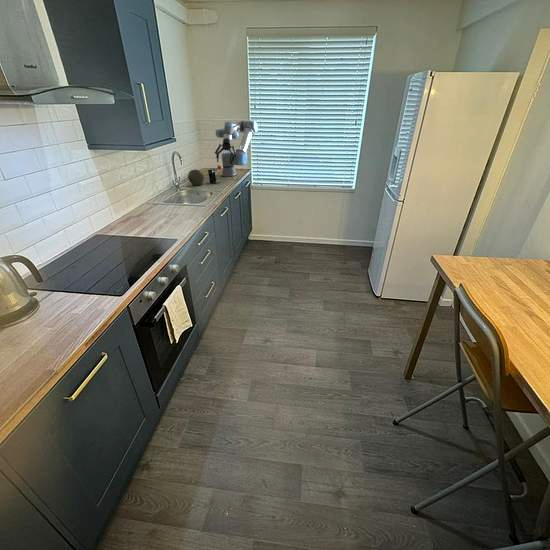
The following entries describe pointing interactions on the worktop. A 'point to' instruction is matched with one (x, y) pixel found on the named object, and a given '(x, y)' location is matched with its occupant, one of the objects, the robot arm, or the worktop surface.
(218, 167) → the lever
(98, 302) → the worktop surface
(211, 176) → the switch bracket
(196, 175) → the cantaloupe
